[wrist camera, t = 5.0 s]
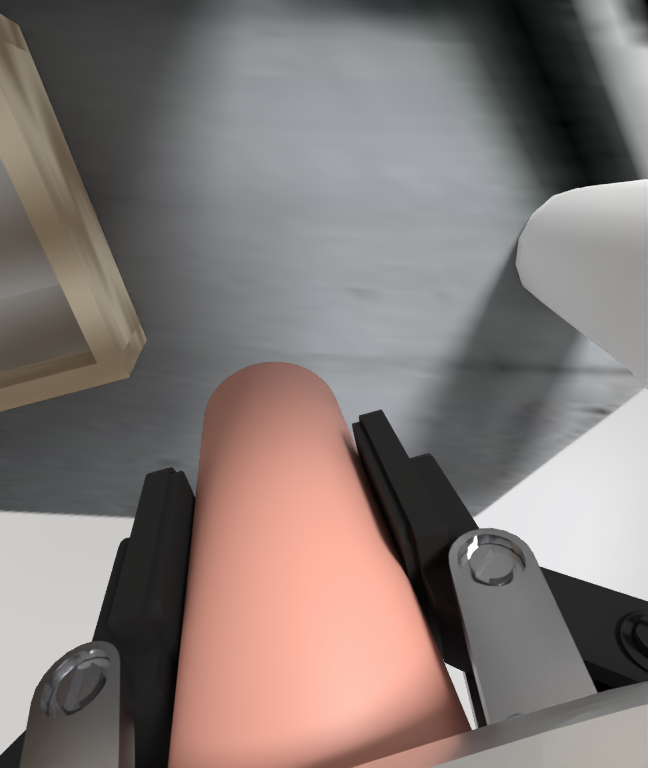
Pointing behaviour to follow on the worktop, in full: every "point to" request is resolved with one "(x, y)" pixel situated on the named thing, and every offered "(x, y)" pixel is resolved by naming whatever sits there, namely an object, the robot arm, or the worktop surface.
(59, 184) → the box
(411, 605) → the peg
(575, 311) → the foam cup
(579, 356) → the worktop surface
